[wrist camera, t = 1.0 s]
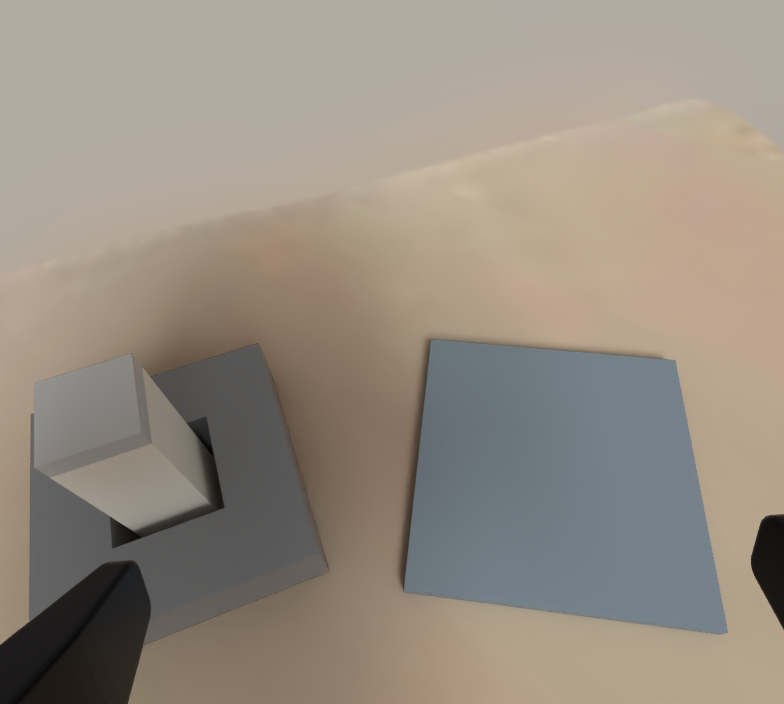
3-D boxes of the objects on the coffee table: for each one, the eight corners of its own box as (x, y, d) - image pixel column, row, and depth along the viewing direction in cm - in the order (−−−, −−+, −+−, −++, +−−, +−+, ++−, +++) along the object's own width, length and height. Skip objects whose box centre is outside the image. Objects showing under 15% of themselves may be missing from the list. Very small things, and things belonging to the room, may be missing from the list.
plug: (228, 522, 23) (141, 432, 16) (158, 547, 23) (33, 467, 15) (216, 461, 25) (131, 353, 17) (151, 483, 24) (34, 383, 17)
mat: (720, 634, 20) (727, 632, 20) (404, 592, 21) (404, 589, 21) (670, 366, 27) (675, 360, 26) (430, 345, 28) (430, 339, 27)
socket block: (329, 571, 22) (318, 553, 19) (76, 671, 20) (28, 665, 18) (272, 376, 27) (258, 343, 25) (68, 443, 26) (31, 414, 23)
